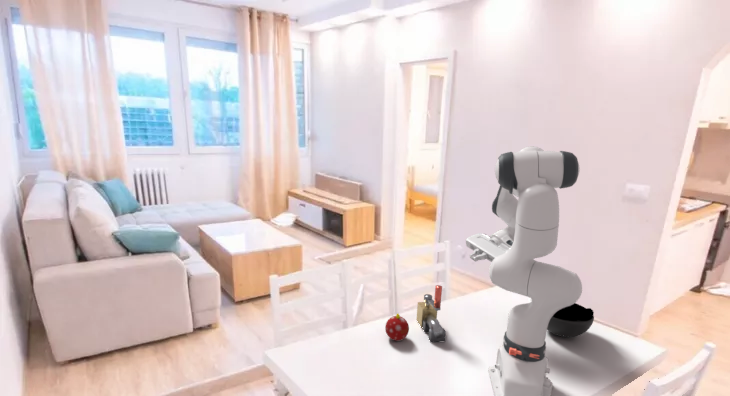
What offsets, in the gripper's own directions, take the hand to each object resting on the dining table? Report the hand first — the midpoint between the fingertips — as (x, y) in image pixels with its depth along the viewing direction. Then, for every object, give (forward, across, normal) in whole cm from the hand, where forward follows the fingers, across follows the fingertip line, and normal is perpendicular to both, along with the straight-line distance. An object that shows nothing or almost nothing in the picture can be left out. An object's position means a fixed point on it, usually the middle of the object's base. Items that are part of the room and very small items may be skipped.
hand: (472, 258), depth 143 cm
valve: (+24, 0, +22) cm, 32 cm away
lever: (+19, -2, +13) cm, 24 cm away
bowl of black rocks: (-21, +20, +37) cm, 47 cm away
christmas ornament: (+38, 0, +17) cm, 41 cm away
